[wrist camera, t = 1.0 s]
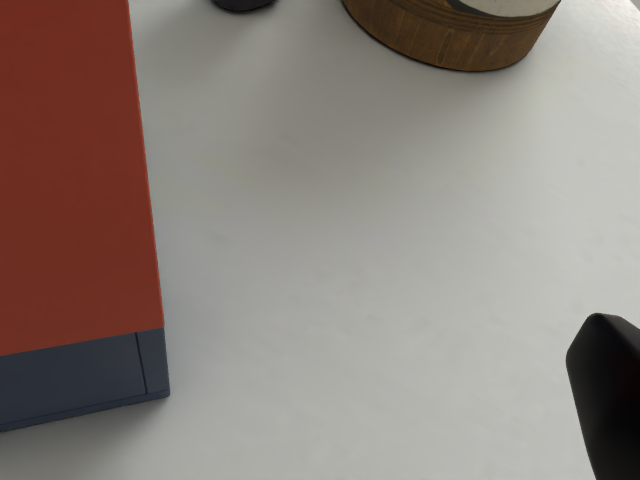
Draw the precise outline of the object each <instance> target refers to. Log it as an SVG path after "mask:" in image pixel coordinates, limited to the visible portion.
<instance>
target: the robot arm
mask: <svg viewBox="0 0 640 480" xmlns="http://www.w3.org/2000/svg"><path fill="white" fill-rule="evenodd" d="M566 368H567V372H568V376H569V380H570V384H571V388H572V393H573V397H574V401H575V405H576V409H577V413H578V418H579V422H580V426H581V430H582V434H583V438H584V442H585V446H586V449H587V453H588V457H589V460H590V463H591V466H592V469H593V472H594V475H595V478H596V480H640V329H638V328H637V327H635V326H634V325H632V324H631V323H629V322H628V321H626V320H625V319H623V318H622V317H619V316H616V315H609V314H602V313H594V314H591V315H590V316H589V317H587V319H586V320H585V322H584V323H583V325H582V327H581V329H580V330H579V332H578V334H577V335H576V337H575V339H574V340H573V342H572V344H571V345H570V347H569V349H568V351H567V355H566Z"/></svg>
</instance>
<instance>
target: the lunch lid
mask: <svg viewBox="0 0 640 480" xmlns="http://www.w3.org/2000/svg"><path fill="white" fill-rule="evenodd" d="M162 327H164V316H163V307H162V298H161V289H160V280H159V271H158V262H157V253H156V245H155V236H154V227H153V218H152V209H151V200H150V191H149V182H148V174H147V165H146V156H145V147H144V138H143V129H142V120H141V111H140V102H139V94H138V85H137V76H136V67H135V58H134V49H133V40H132V31H131V22H130V14H129V5H128V0H0V356H3V355H8V354H14V353H20V352H25V351H31V350H37V349H43V348H48V347H54V346H60V345H65V344H71V343H77V342H83V341H88V340H94V339H100V338H105V337H111V336H117V335H123V334H128V333H134V332H140V331H145V330H151V329H157V328H162Z"/></svg>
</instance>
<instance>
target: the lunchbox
mask: <svg viewBox="0 0 640 480" xmlns="http://www.w3.org/2000/svg"><path fill="white" fill-rule="evenodd" d="M168 396H170V388H169V377H168V366H167V355H166V344H165V333H164V327H162V328H157V329H151V330H145V331H140V332H134V333H128V334H123V335H117V336H111V337H105V338H100V339H94V340H88V341H83V342H77V343H71V344H65V345H60V346H54V347H48V348H43V349H37V350H31V351H25V352H20V353H14V354H8V355H3V356H0V432H4V431H8V430H13V429H18V428H23V427H27V426H32V425H37V424H41V423H46V422H51V421H55V420H60V419H65V418H70V417H74V416H79V415H84V414H88V413H93V412H98V411H102V410H107V409H112V408H117V407H121V406H126V405H131V404H135V403H140V402H145V401H149V400H154V399H159V398H164V397H168Z"/></svg>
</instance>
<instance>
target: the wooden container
mask: <svg viewBox="0 0 640 480" xmlns="http://www.w3.org/2000/svg"><path fill="white" fill-rule="evenodd" d="M343 2H344V4H345V6H346V8H347V9H348V11H349V12H350V14H351V15H352V16H353V17H354V19H355V20H356V21H357V22H358V23H359V24H360V25H361V26H362V27H363V28H364V29H365V30H367V31H368V32H369V33H370V34H371V35H373V36H374V37H375V38H377V39H378V40H380V41H381V42H383V43H384V44H386V45H388V46H389V47H391V48H393V49H395V50H397V51H399V52H401V53H403V54H405V55H407V56H409V57H412V58H414V59H417V60H420V61H423V62H426V63H429V64H432V65H436V66H440V67H445V68H450V69H457V70H466V71H484V70H492V69H498V68H503V67H506V66H509V65H511V64H513V63H515V62H517V61H518V60H520V59H522V58H523V57H524V56H525V55H526V54H527V53H528V52H529V51H530V50H531V48H532V47H533V45H534V44H535V42H536V41H537V39H538V37H539V36H540V34H541V33H542V31H543V29H544V28H545V26H546V24H547V23H548V21H549V20H550V18H551V16H552V15H553V13H554V11H555V10H556V8H557V6H558V4H559V3H560V2H561V0H343Z"/></svg>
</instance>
